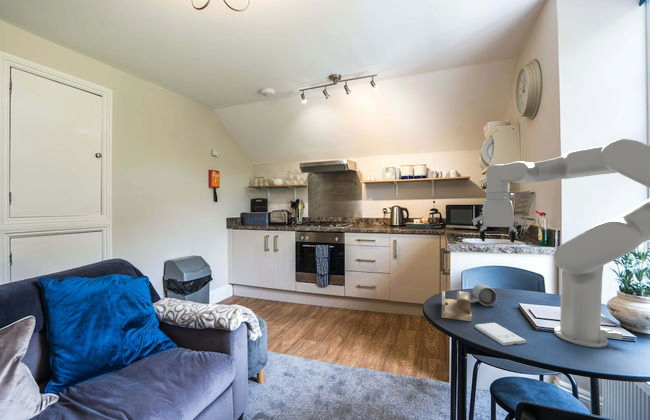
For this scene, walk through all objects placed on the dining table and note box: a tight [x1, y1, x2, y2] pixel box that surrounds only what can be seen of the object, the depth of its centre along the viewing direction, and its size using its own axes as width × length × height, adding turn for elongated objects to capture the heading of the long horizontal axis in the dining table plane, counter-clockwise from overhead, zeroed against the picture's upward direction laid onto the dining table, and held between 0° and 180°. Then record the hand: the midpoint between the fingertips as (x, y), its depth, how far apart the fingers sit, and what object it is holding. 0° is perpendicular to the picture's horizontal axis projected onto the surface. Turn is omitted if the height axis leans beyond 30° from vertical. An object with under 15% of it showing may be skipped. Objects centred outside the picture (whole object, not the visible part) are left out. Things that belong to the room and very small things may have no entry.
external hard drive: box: [474, 322, 527, 346], centre depth 92 cm, size 2×8×12 cm
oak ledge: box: [441, 290, 473, 322], centre depth 111 cm, size 10×16×5 cm, turn 157°
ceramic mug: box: [469, 283, 498, 307], centre depth 121 cm, size 11×8×8 cm
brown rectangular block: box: [456, 290, 471, 314], centre depth 109 cm, size 4×11×5 cm, turn 155°
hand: (497, 241), depth 108 cm, fingers open, 9 cm apart
